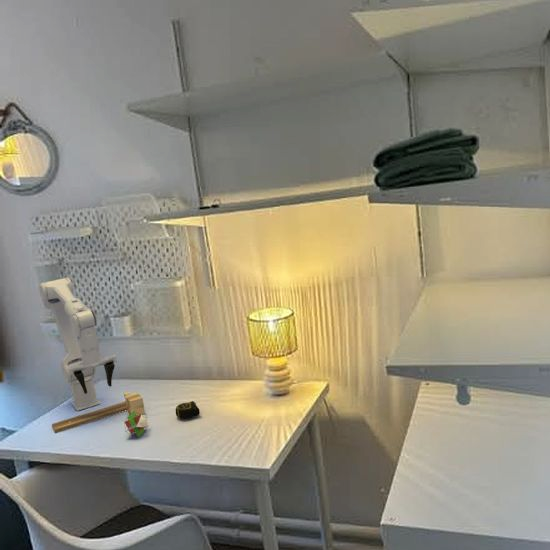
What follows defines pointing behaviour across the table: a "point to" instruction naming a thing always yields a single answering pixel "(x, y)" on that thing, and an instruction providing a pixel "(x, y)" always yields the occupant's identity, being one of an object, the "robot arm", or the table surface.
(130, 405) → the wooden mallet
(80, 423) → the brown wooden flat strip
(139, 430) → the geometric puzzle
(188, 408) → the tape measure
